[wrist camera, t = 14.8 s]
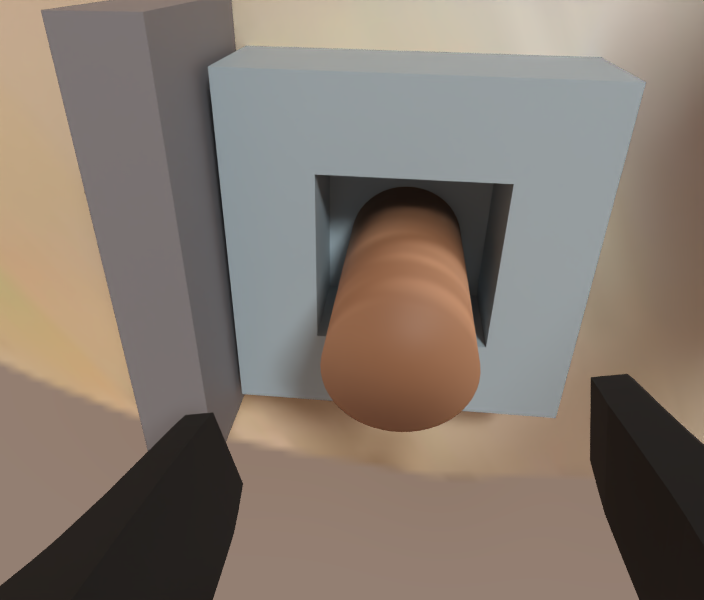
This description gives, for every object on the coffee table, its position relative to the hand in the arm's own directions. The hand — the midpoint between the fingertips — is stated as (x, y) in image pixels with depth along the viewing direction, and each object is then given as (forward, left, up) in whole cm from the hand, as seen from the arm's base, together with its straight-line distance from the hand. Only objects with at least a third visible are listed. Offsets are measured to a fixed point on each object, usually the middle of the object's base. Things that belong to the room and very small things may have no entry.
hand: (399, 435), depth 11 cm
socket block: (0, -1, -10) cm, 10 cm away
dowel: (0, 0, -9) cm, 9 cm away
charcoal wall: (+6, -1, -9) cm, 11 cm away
